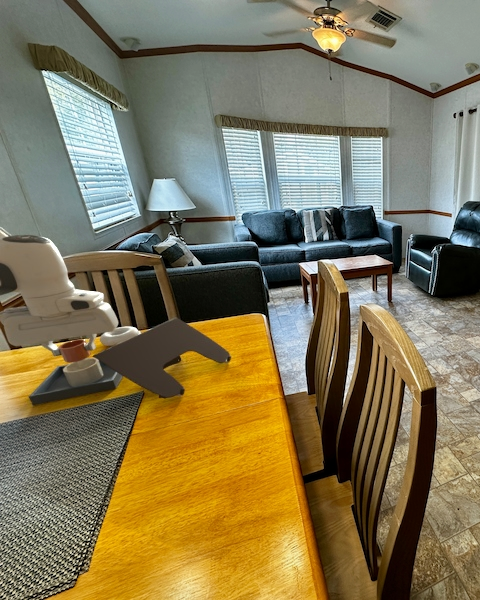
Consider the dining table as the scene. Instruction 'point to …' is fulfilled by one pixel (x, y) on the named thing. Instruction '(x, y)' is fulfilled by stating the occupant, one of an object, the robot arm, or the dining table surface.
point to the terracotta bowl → (74, 351)
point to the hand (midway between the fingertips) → (75, 352)
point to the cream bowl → (83, 372)
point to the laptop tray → (160, 356)
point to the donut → (118, 335)
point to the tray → (60, 389)
